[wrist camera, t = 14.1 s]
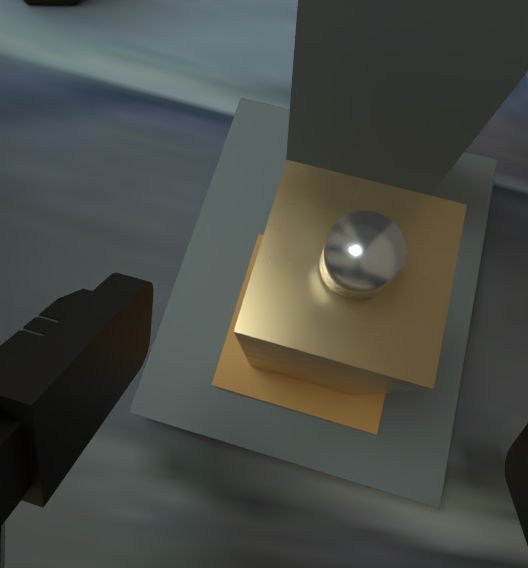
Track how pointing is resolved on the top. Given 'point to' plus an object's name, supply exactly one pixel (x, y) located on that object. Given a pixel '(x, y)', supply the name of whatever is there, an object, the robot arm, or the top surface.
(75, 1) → the beer bottle
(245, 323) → the block
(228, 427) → the press
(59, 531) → the top surface
